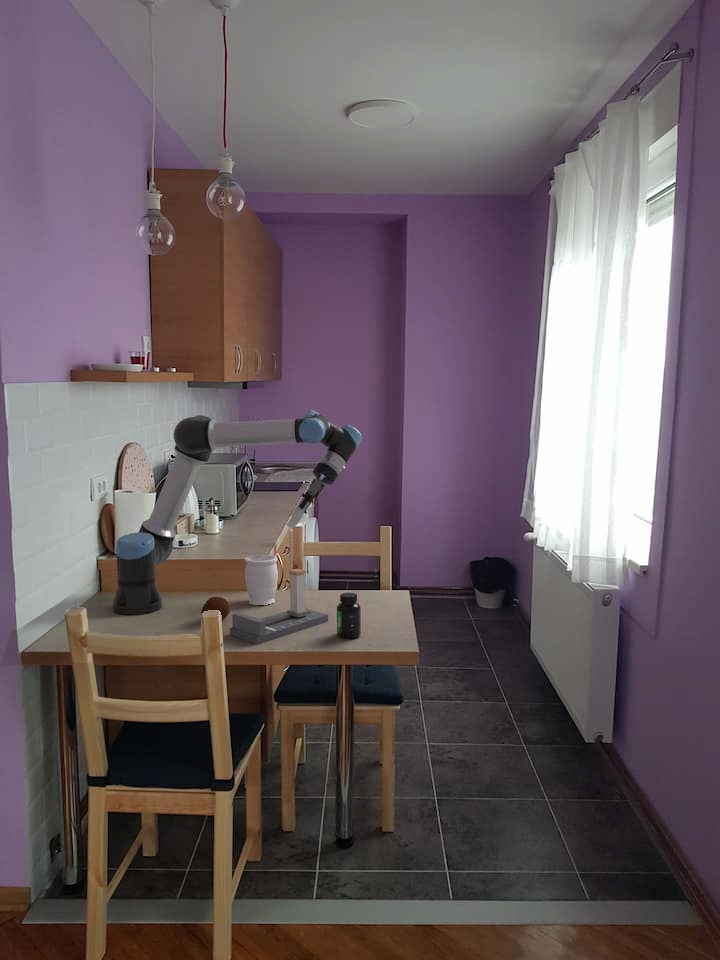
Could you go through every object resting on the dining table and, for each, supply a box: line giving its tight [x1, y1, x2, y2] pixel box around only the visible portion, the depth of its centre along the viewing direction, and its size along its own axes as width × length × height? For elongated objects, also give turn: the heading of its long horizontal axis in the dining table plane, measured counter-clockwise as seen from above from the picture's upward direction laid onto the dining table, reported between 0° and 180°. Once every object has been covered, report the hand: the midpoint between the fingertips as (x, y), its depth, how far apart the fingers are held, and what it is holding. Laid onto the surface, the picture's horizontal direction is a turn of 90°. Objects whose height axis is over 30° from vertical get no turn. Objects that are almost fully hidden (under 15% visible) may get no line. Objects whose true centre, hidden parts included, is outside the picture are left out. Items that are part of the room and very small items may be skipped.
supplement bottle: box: [336, 592, 362, 640], centre depth 222 cm, size 7×7×12 cm
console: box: [229, 608, 329, 645], centre depth 229 cm, size 28×12×6 cm, turn 138°
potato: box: [200, 596, 231, 621], centre depth 235 cm, size 8×12×8 cm, turn 166°
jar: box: [244, 554, 279, 606], centre depth 255 cm, size 11×10×15 cm
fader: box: [286, 568, 308, 618], centre depth 234 cm, size 4×5×14 cm
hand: (292, 522), depth 242 cm, fingers open, 13 cm apart
